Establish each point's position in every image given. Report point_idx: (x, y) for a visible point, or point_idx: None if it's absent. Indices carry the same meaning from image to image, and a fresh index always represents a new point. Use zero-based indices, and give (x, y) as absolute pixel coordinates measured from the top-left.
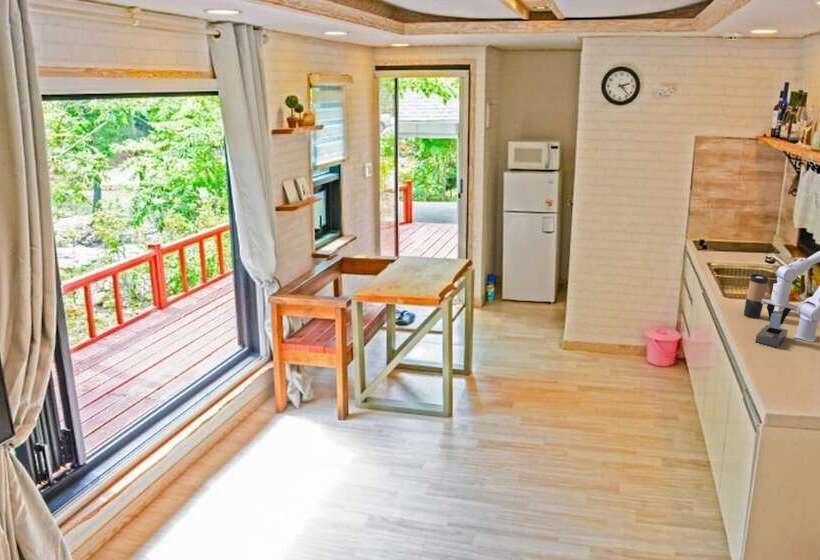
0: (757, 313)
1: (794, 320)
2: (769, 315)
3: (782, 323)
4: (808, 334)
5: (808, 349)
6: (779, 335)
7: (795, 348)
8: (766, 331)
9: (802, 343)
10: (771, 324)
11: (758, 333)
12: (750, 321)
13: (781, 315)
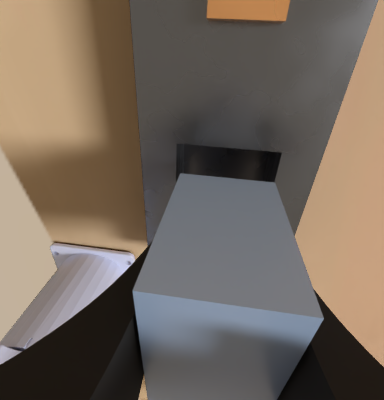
0: None
1: None
2: (320, 306)
3: None
4: (61, 274)
5: (11, 124)
6: (165, 121)
7: (62, 80)
8: (274, 174)
9: (77, 203)
10: (255, 195)
11: (371, 11)
12: None
13: (140, 316)
